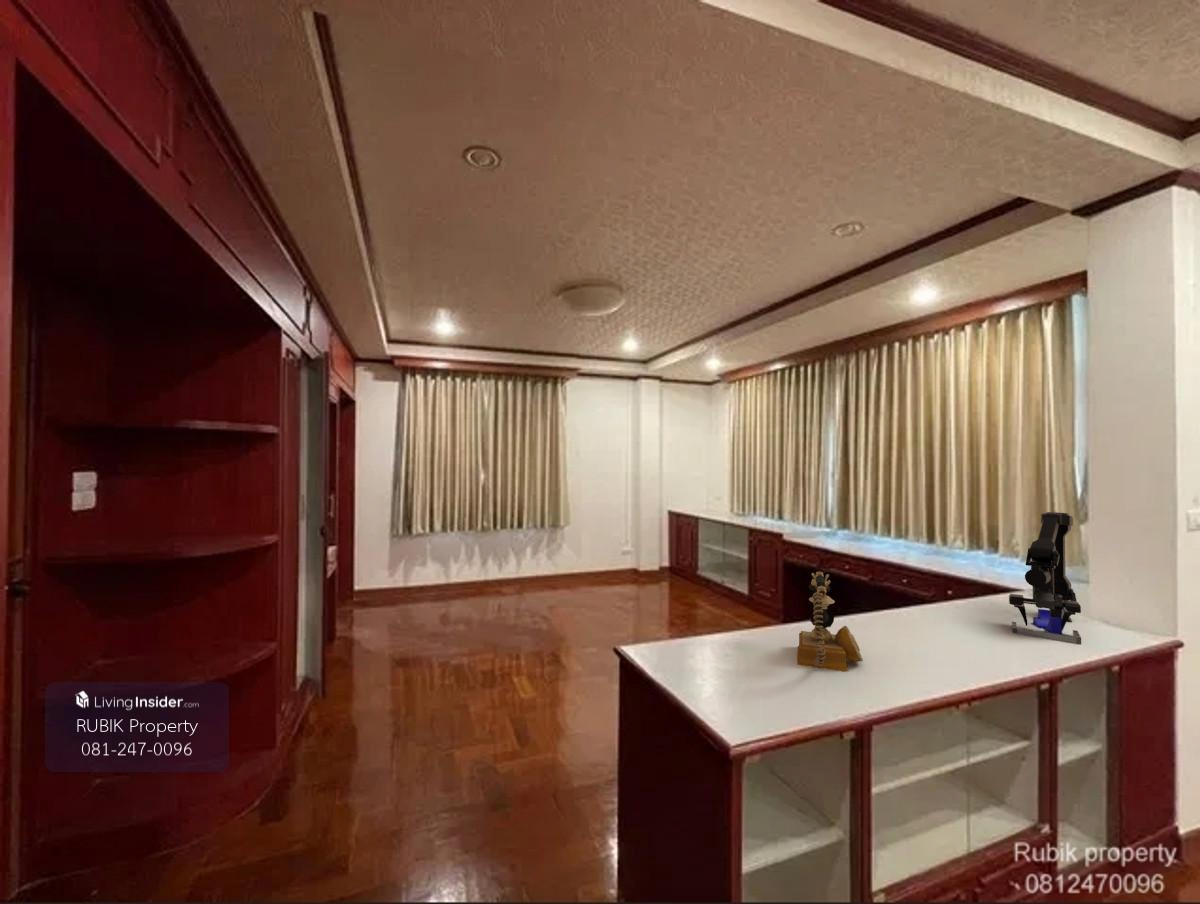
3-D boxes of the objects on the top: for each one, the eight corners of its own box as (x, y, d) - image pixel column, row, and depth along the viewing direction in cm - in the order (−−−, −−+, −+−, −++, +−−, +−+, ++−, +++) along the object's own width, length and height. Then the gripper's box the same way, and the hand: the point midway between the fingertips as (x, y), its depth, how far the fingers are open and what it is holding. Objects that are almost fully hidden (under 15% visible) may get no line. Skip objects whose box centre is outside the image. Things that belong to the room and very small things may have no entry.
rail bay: (1011, 627, 188) (1011, 621, 188) (1077, 637, 178) (1077, 630, 178) (1012, 634, 181) (1012, 627, 181) (1081, 644, 171) (1081, 637, 171)
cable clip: (1033, 625, 192) (1032, 608, 192) (1048, 626, 190) (1048, 609, 190) (1045, 635, 181) (1045, 617, 181) (1062, 636, 179) (1061, 618, 179)
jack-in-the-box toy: (872, 698, 132) (871, 597, 133) (796, 687, 139) (795, 591, 139) (858, 650, 165) (857, 570, 166) (797, 643, 172) (797, 566, 172)
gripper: (1009, 583, 182) (1010, 629, 182) (1082, 590, 171) (1083, 639, 171) (1008, 577, 191) (1009, 621, 191) (1078, 584, 180) (1078, 631, 180)
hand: (1043, 628), depth 183 cm, fingers open, 9 cm apart
